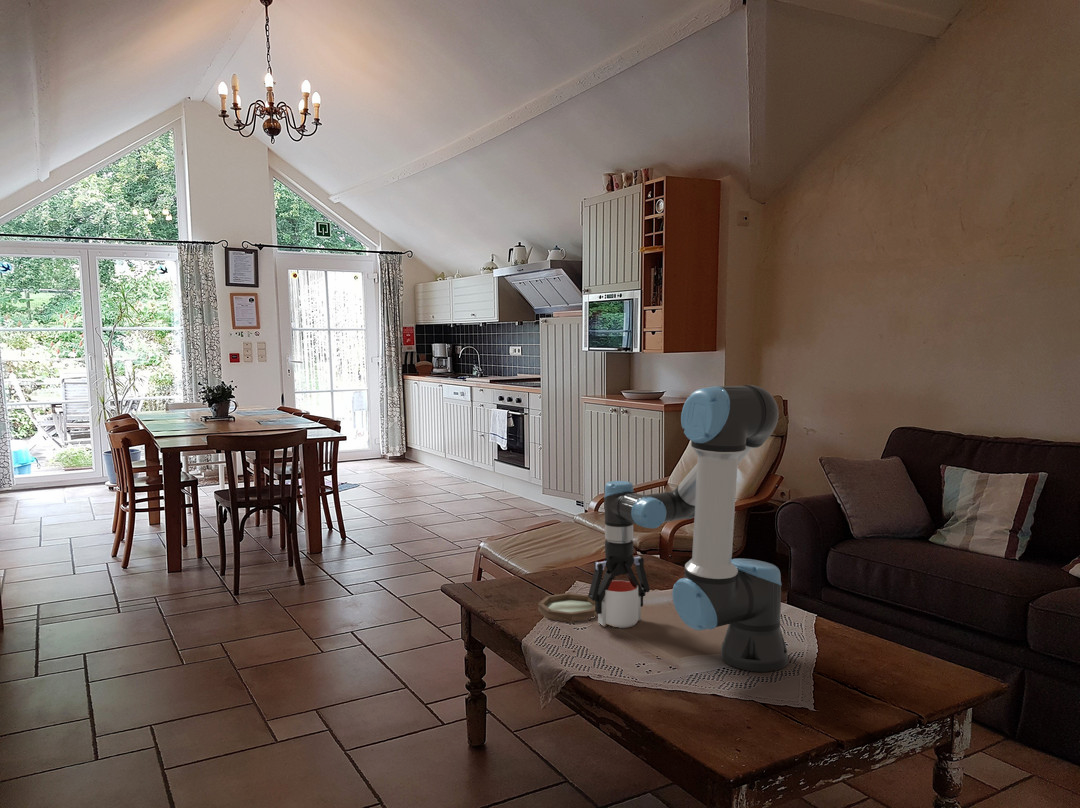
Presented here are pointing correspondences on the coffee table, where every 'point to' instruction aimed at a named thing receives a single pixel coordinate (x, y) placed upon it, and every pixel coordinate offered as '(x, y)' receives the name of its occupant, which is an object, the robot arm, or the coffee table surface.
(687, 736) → the coffee table surface
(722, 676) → the coffee table surface
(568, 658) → the coffee table surface
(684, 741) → the coffee table surface
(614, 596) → the cup
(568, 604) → the tray
